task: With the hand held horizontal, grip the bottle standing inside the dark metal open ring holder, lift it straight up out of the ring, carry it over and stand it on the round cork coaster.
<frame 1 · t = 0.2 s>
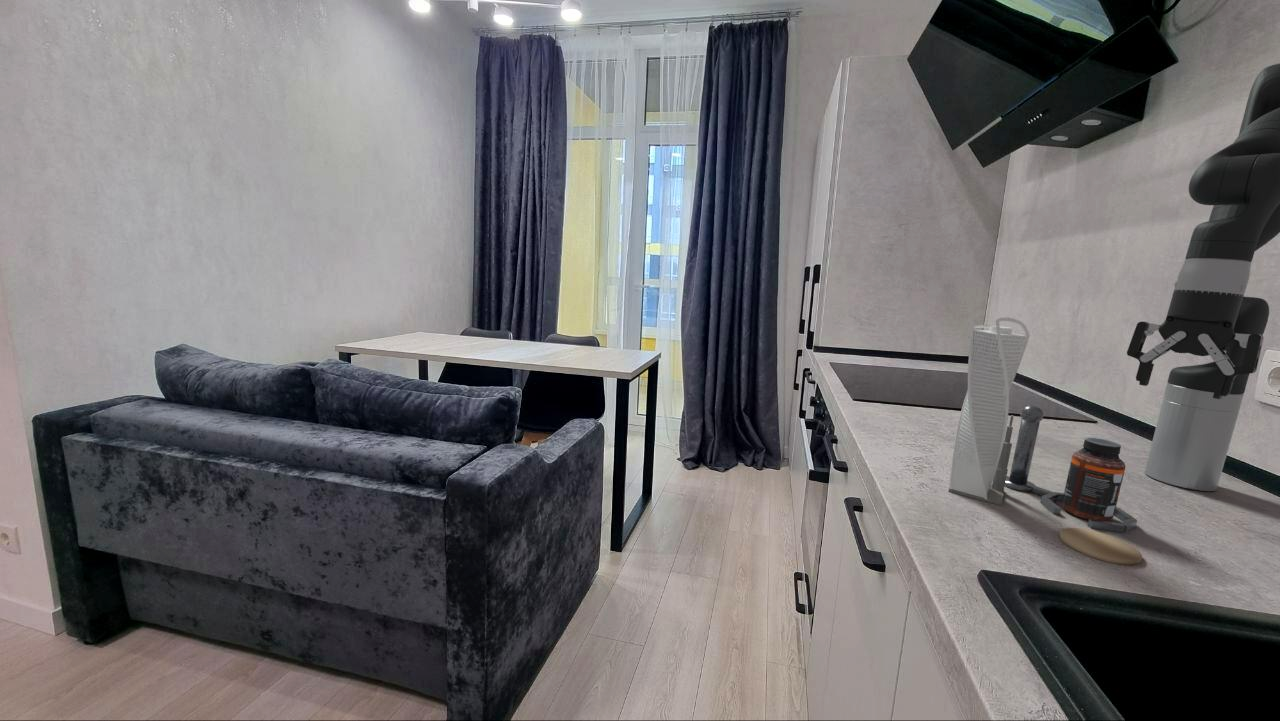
hand: (1178, 391, 84), 18 cm above the countertop, tool pointing down, fingers open, 8 cm apart
coaster: (1098, 547, 68), on the countertop
skyscraper: (971, 492, 83), on the countertop
ring holder: (1085, 514, 78), on the countertop
supplement bottle: (1085, 515, 78), resting in ring holder
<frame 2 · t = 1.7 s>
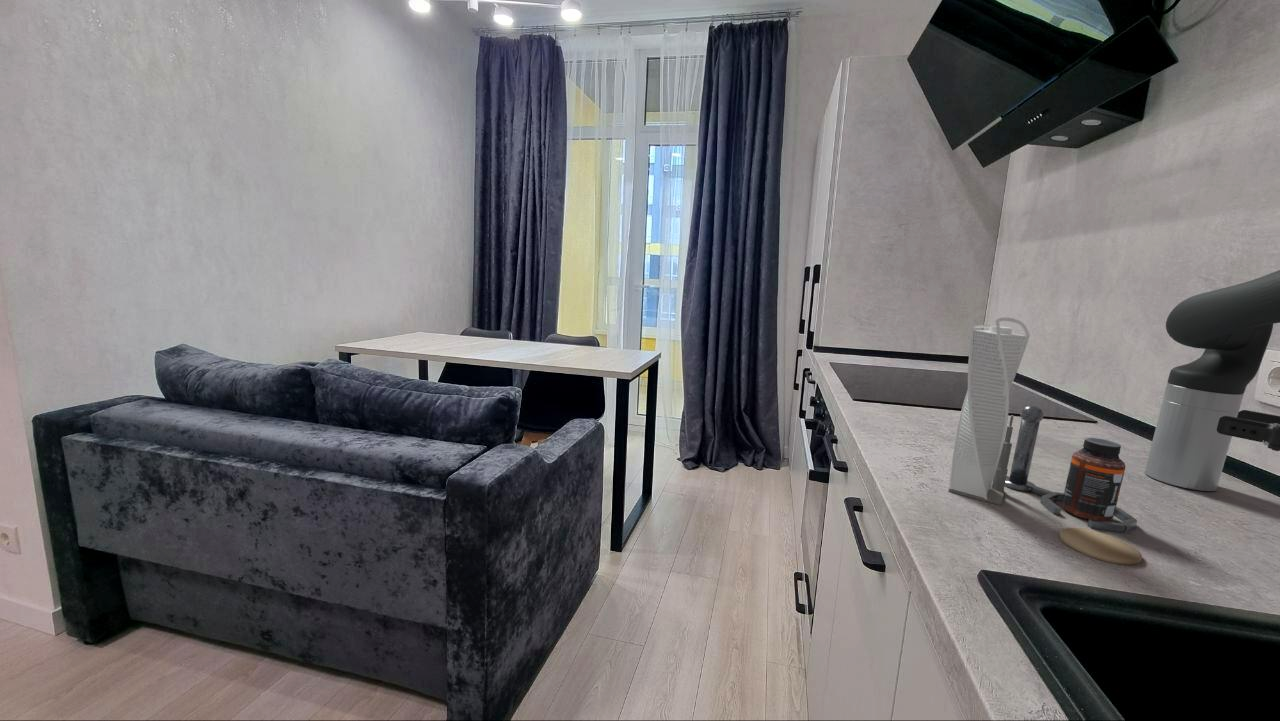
hand: (1228, 420, 66), 18 cm above the countertop, tool horizontal, fingers open, 8 cm apart
nothing on the countertop moved.
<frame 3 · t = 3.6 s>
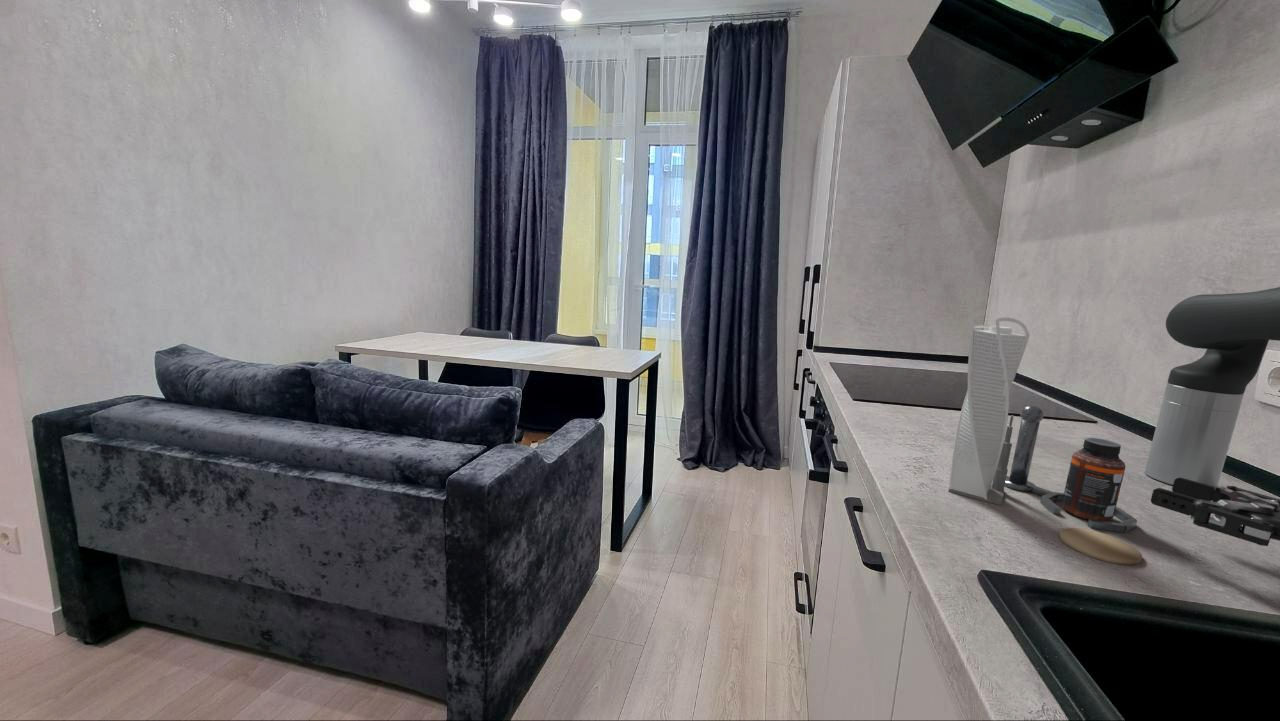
hand: (1163, 489, 70), 7 cm above the countertop, tool horizontal, fingers open, 8 cm apart
nothing on the countertop moved.
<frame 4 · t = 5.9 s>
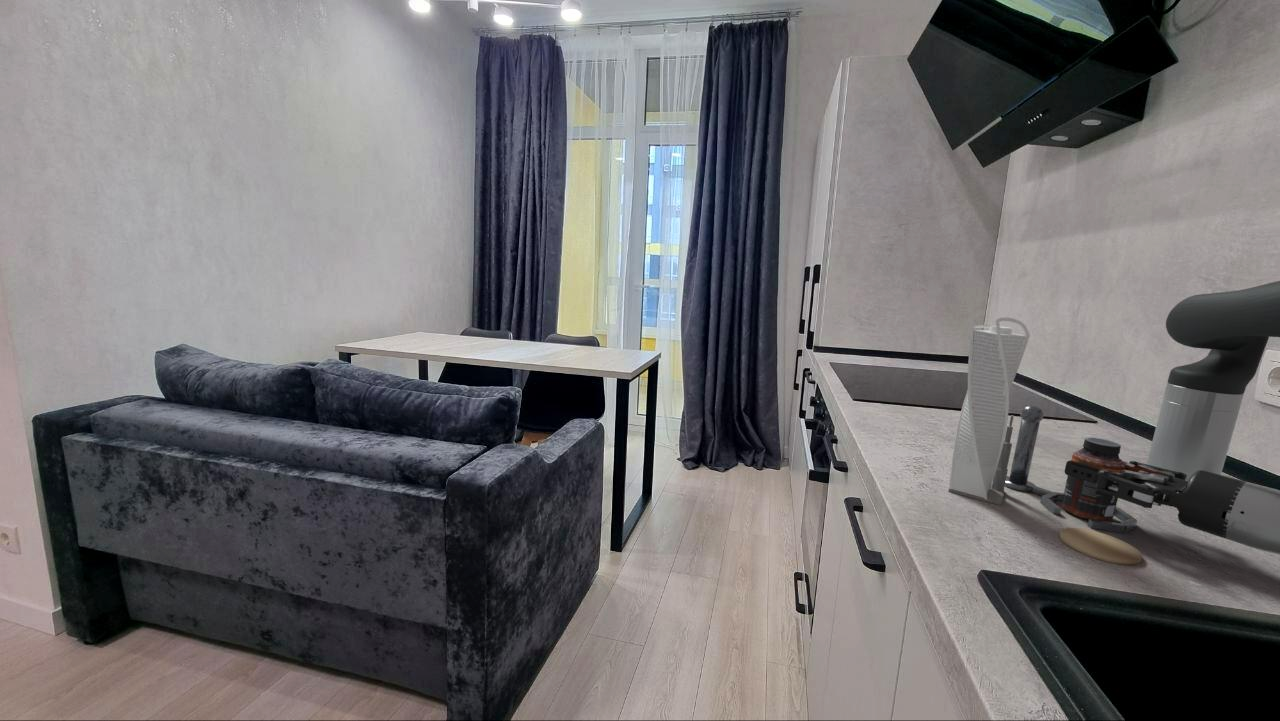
hand: (1076, 463, 78), 7 cm above the countertop, tool horizontal, fingers closed on supplement bottle, 6 cm apart
supplement bottle: (1085, 515, 78), resting in ring holder, touching gripper
everything else where it was.
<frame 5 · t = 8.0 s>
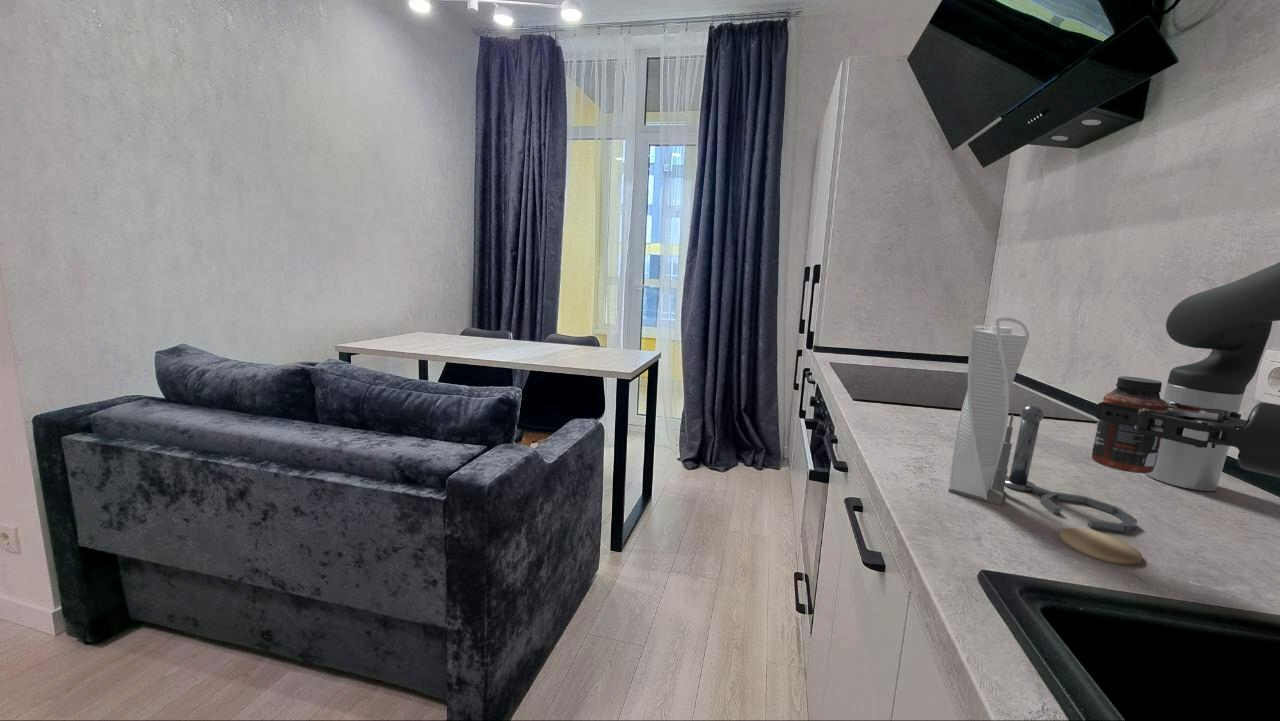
hand: (1108, 407, 67), 18 cm above the countertop, tool horizontal, fingers closed on supplement bottle, 6 cm apart
supplement bottle: (1120, 467, 66), point 11 cm above the countertop, touching gripper
everything else where it was.
when the fingers open (9 cm above the countertop, at t = 10.4 s): supplement bottle stays where it is, resting on coaster.
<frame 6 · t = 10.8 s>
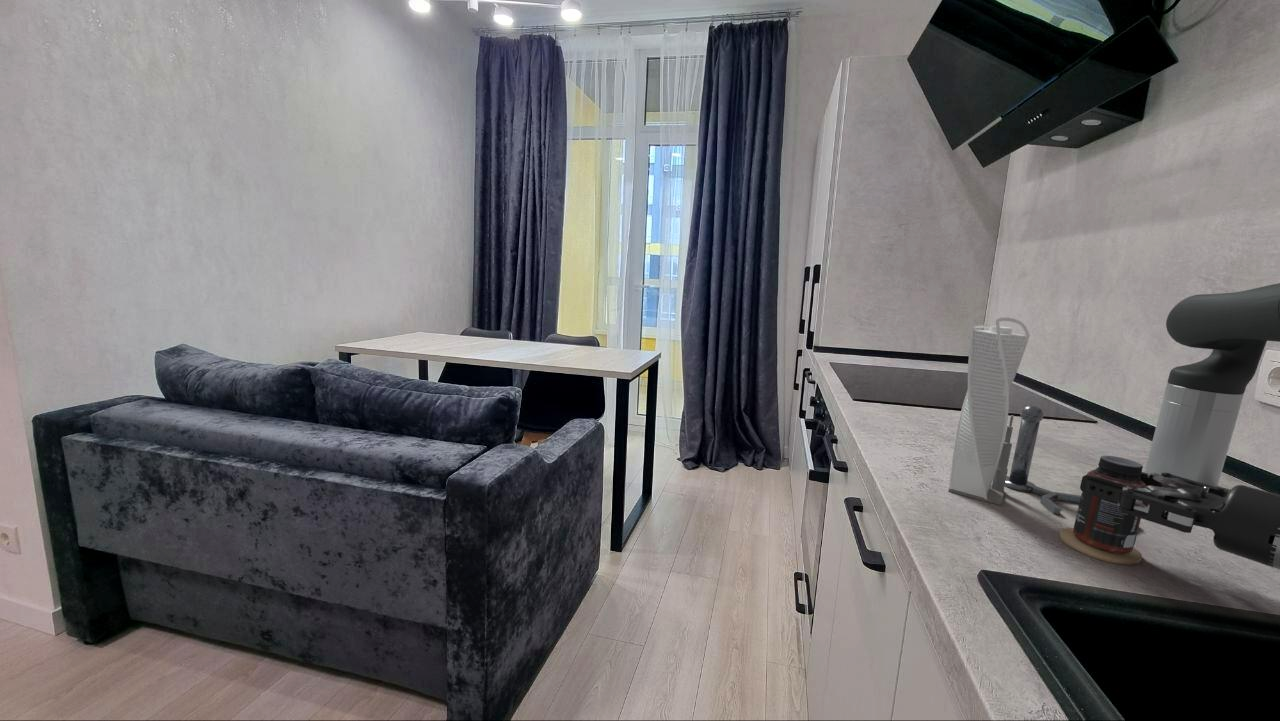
hand: (1095, 476, 68), 9 cm above the countertop, tool horizontal, fingers open, 8 cm apart
supplement bottle: (1100, 544, 68), resting on coaster
everything else where it was.
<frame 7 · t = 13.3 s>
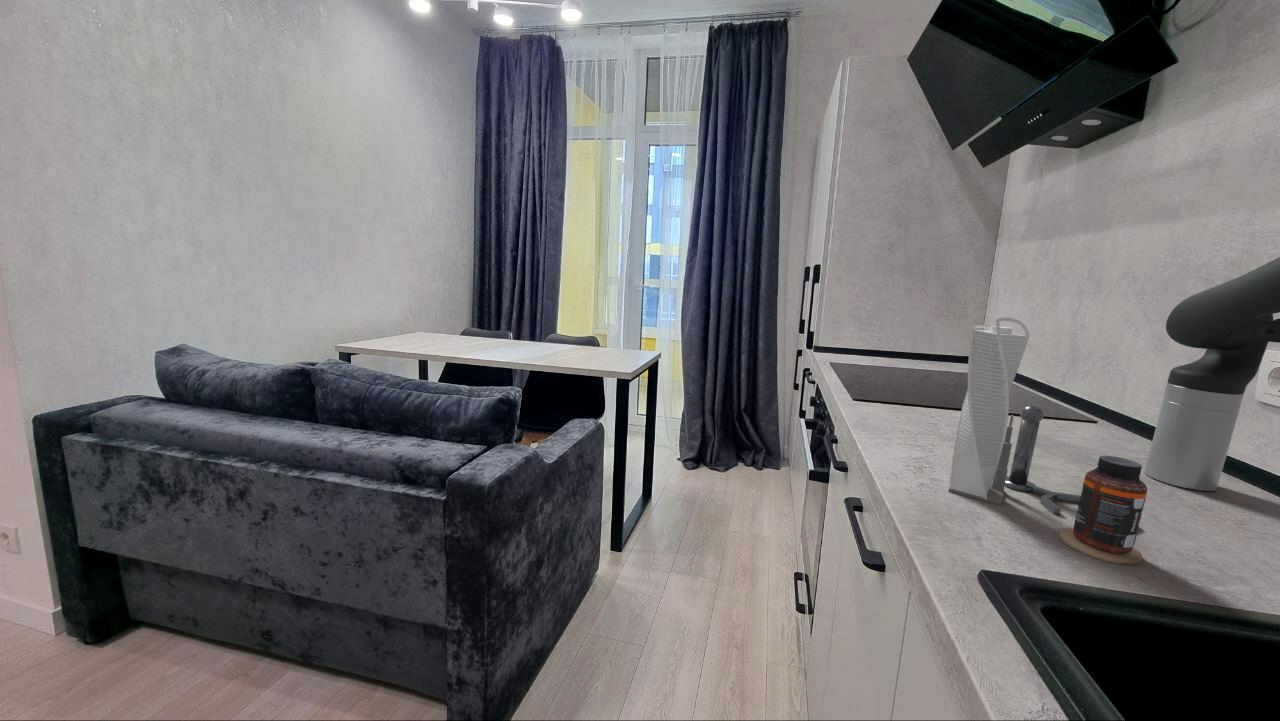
hand: (1262, 328, 58), 30 cm above the countertop, tool horizontal, fingers open, 8 cm apart
nothing on the countertop moved.
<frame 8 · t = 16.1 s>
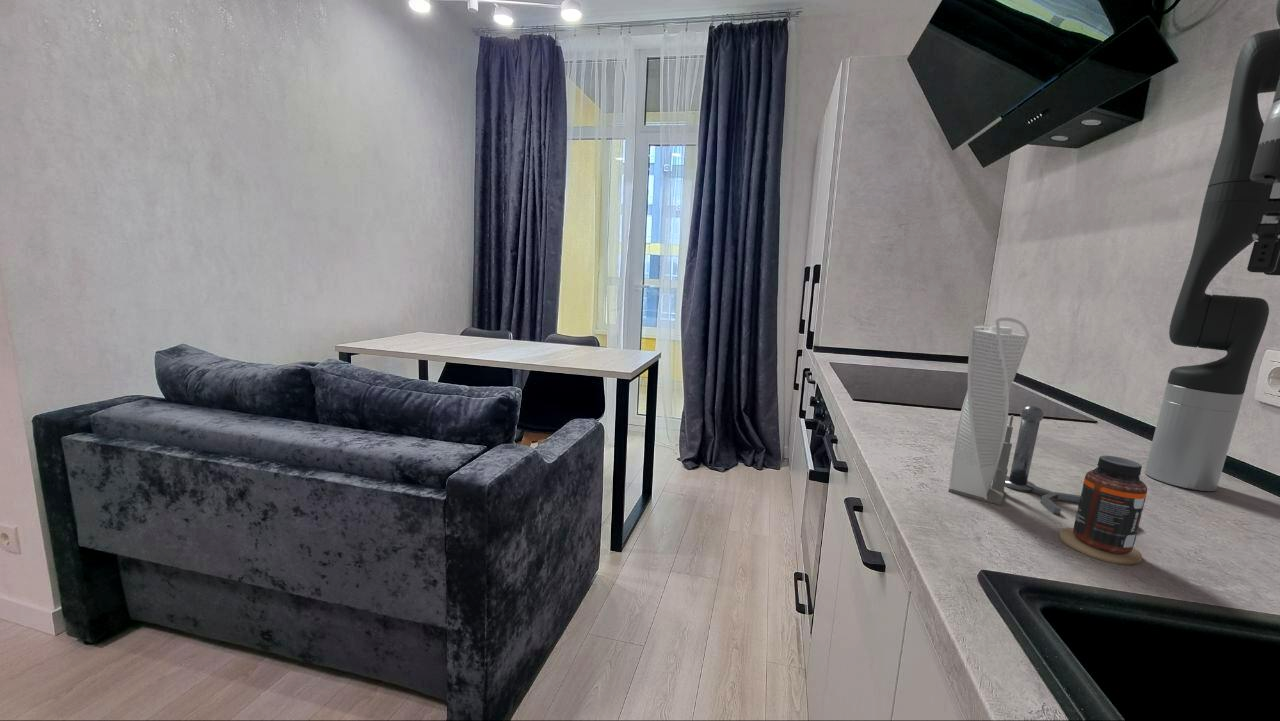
hand: (1268, 273, 66), 36 cm above the countertop, tool pointing down, fingers open, 8 cm apart
nothing on the countertop moved.
at the end: supplement bottle inside the target area on the coaster (0.1 cm from its centre), point 0.4 cm above the coaster's base; supplement bottle tilted 0°; the gripper is holding nothing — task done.
